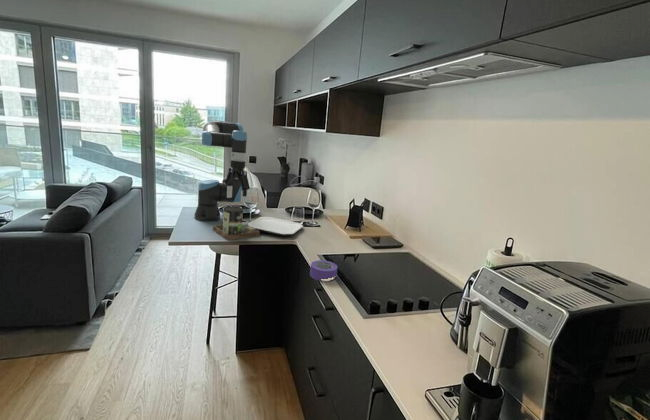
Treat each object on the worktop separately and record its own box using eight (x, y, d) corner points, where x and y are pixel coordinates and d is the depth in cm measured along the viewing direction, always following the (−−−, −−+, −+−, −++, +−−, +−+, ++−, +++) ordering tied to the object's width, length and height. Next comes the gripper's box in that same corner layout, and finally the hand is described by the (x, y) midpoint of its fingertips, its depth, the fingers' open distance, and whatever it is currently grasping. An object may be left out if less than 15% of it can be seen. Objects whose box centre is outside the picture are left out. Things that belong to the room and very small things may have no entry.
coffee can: (244, 232, 191) (246, 208, 187) (236, 237, 181) (238, 212, 177) (227, 229, 192) (229, 205, 189) (218, 234, 182) (219, 209, 179)
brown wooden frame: (212, 229, 188) (213, 225, 188) (243, 226, 201) (244, 222, 200) (227, 240, 176) (227, 235, 175) (259, 235, 188) (259, 231, 188)
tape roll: (309, 269, 153) (310, 258, 152) (334, 271, 154) (335, 260, 153) (310, 281, 142) (311, 269, 140) (337, 282, 143) (339, 272, 142)
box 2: (244, 233, 189) (245, 227, 188) (250, 232, 192) (250, 226, 191) (249, 235, 186) (249, 229, 185) (254, 234, 189) (255, 227, 188)
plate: (242, 228, 192) (242, 224, 192) (263, 218, 220) (263, 215, 220) (290, 239, 187) (290, 235, 186) (305, 227, 214) (305, 224, 214)
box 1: (238, 229, 195) (238, 222, 194) (244, 228, 198) (245, 222, 197) (240, 231, 192) (241, 224, 191) (247, 230, 194) (248, 224, 194)
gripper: (219, 157, 185) (217, 195, 189) (245, 162, 169) (243, 204, 173) (231, 158, 190) (229, 195, 194) (258, 163, 174) (255, 203, 178)
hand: (236, 199), depth 183 cm, fingers open, 13 cm apart
